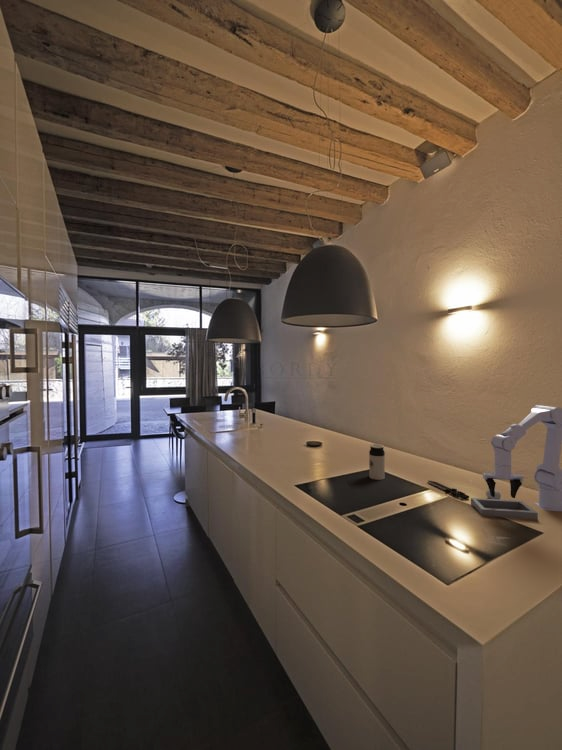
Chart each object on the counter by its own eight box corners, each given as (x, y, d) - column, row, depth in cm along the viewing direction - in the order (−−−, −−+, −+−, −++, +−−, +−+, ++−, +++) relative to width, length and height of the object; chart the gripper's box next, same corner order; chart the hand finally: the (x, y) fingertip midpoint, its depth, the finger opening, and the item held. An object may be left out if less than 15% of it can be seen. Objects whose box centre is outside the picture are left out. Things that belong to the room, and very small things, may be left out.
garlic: (483, 498, 154) (483, 487, 154) (488, 496, 157) (489, 485, 157) (497, 503, 149) (497, 491, 149) (503, 500, 152) (503, 488, 152)
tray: (521, 507, 144) (521, 500, 143) (537, 520, 132) (537, 512, 132) (470, 504, 147) (470, 497, 147) (481, 516, 135) (482, 509, 135)
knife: (425, 481, 176) (425, 479, 176) (436, 481, 177) (436, 479, 177) (458, 499, 151) (458, 496, 151) (471, 499, 152) (471, 496, 152)
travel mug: (381, 475, 187) (381, 443, 186) (386, 480, 179) (386, 447, 178) (367, 476, 186) (367, 444, 186) (372, 481, 178) (372, 447, 178)
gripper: (517, 462, 142) (517, 494, 142) (479, 460, 144) (479, 492, 145) (526, 467, 135) (526, 500, 135) (486, 465, 137) (486, 498, 138)
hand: (502, 496), depth 139 cm, fingers open, 7 cm apart
